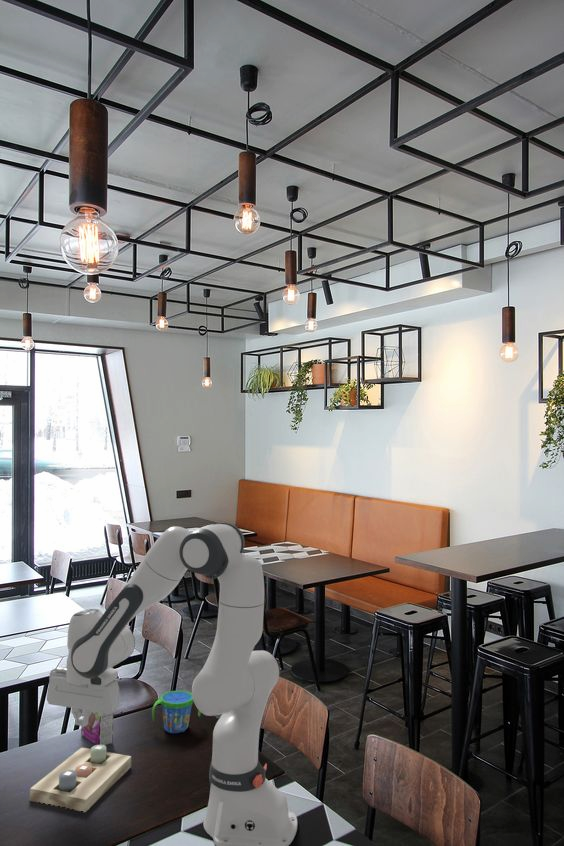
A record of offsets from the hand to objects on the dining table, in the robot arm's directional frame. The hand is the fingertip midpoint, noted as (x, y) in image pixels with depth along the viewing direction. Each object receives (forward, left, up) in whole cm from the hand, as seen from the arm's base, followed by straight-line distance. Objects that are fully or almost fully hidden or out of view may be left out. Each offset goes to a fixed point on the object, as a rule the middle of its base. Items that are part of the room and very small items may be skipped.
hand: (81, 724), depth 158 cm
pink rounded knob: (0, -2, -16) cm, 16 cm away
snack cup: (-10, -38, -16) cm, 42 cm away
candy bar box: (+10, -24, -16) cm, 30 cm away
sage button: (0, -9, -14) cm, 16 cm away
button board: (0, -2, -16) cm, 16 cm away
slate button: (0, +5, -14) cm, 15 cm away
